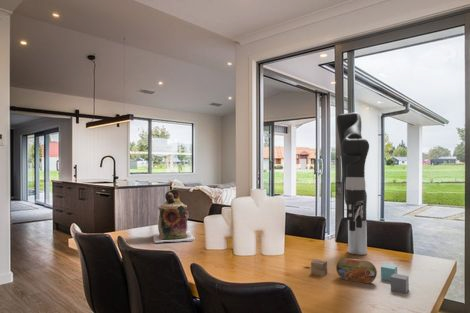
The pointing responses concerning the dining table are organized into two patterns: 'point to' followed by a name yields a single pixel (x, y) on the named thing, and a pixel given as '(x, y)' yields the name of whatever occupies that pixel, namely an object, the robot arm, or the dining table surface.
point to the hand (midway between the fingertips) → (355, 229)
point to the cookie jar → (173, 220)
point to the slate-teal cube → (388, 271)
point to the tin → (356, 270)
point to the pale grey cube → (399, 283)
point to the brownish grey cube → (319, 267)
